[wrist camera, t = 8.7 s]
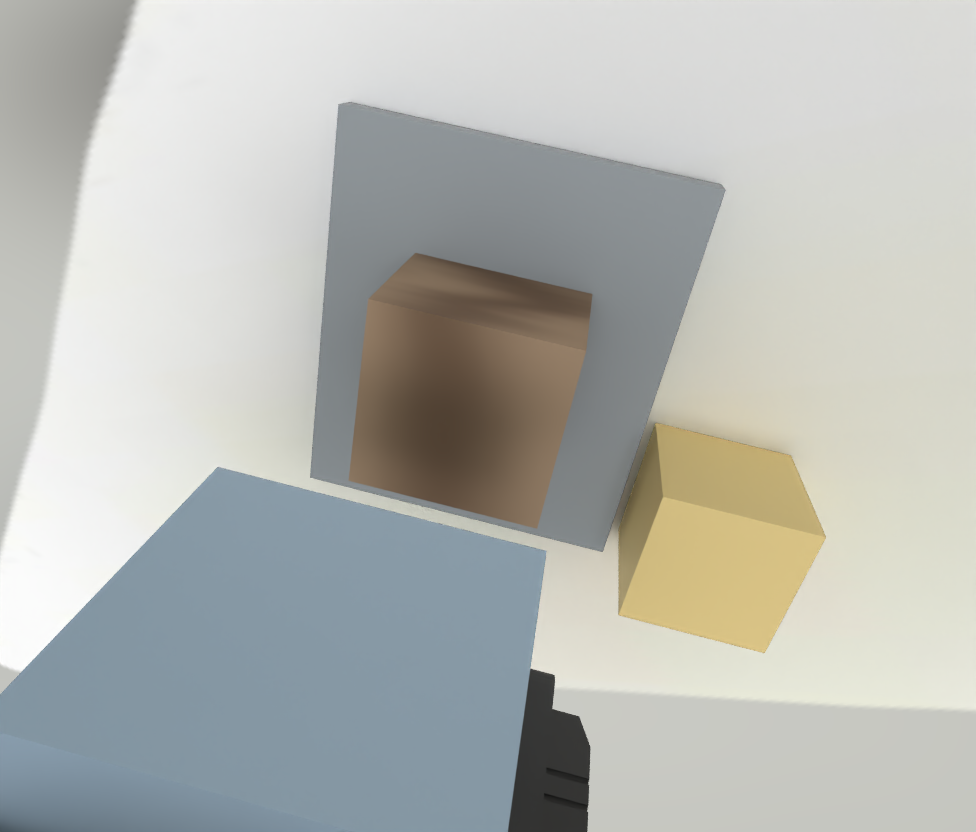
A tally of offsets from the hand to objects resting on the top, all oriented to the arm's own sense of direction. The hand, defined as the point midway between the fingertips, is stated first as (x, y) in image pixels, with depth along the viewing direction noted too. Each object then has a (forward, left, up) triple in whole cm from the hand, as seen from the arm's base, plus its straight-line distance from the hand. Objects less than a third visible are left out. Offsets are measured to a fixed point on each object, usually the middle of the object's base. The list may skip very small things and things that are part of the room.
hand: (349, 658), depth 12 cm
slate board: (0, 0, -15) cm, 15 cm away
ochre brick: (-9, +4, -15) cm, 18 cm away
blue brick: (0, 0, -1) cm, 1 cm away
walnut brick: (0, 0, -14) cm, 14 cm away
